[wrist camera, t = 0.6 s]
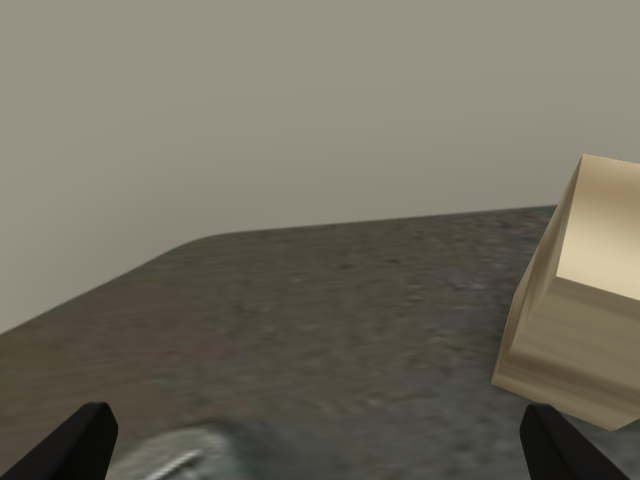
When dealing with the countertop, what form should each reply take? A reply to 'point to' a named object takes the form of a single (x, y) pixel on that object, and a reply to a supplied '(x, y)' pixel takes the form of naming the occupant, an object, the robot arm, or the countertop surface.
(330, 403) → the countertop surface
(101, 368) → the countertop surface
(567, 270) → the birch block
